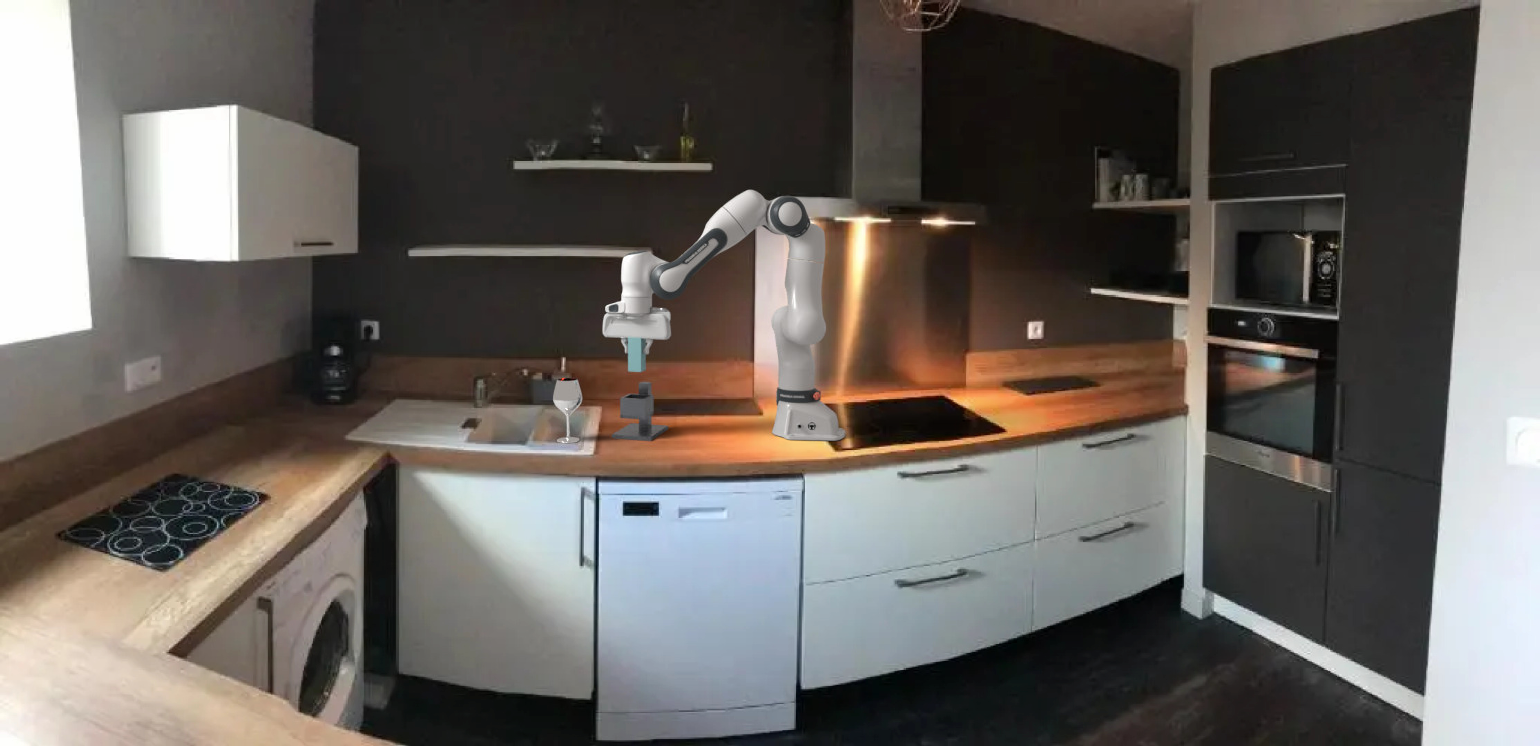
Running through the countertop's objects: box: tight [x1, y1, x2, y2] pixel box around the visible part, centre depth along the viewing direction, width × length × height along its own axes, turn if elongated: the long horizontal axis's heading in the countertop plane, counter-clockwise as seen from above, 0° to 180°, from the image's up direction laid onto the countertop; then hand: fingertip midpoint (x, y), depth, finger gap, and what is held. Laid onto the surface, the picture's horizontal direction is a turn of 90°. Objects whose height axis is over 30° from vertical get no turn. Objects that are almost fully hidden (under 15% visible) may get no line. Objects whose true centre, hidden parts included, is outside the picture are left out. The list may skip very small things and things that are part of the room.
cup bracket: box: [611, 381, 669, 442], centre depth 259 cm, size 12×16×15 cm
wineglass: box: [552, 377, 583, 444], centre depth 249 cm, size 8×8×18 cm
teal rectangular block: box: [627, 337, 647, 373], centre depth 254 cm, size 4×4×10 cm
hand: (636, 353), depth 254 cm, fingers closed on teal rectangular block, 4 cm apart
